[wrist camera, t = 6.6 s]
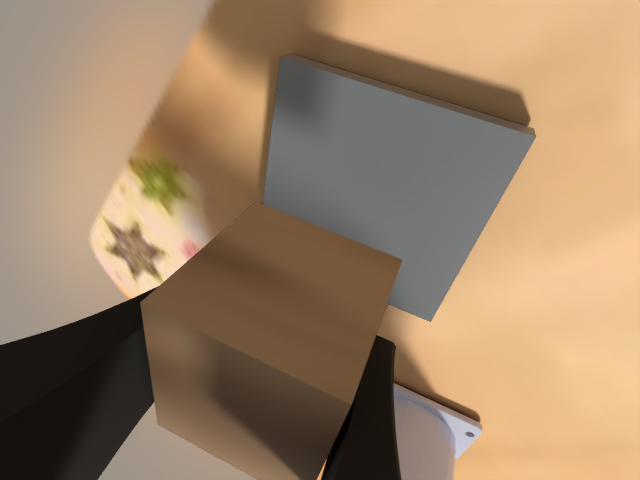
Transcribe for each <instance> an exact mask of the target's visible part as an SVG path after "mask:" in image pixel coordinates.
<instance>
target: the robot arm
mask: <svg viewBox="0 0 640 480" xmlns="http://www.w3.org/2000/svg"><path fill="white" fill-rule="evenodd" d="M158 287H159V286H158ZM158 287H156V288H158ZM156 288H154V289H152V290H149V291H147V292H145V293H143V294H141V295H139V296H137V297H135V298H132V299H130V300H128V301H125V302H123V303H121V304H119V305H116V306H114V307H112V308H109V309H106V310H104V311H102V312H100V313H97V314H94V315H92V316H89V317H87V318H84V319H81V320H79V321H76V322H73V323H70V324H67V325H65V326H62V327H59V328H56V329H53V330H50V331H47V332H44V333H40V334H37V335H34V336H30V337H27V338H23V339H20V340H17V341H13V342H10V343H6V344H3V345H0V480H98V478H99V476H100V475H101V474H102V472H103V471H104V470H105V468H106V467H107V465H108V464H109V462H110V461H111V460H112V458H113V457H114V455H115V454H116V452H117V451H118V449H119V448H120V447H121V445H122V444H123V442H124V441H125V440H126V438H127V437H128V436H129V434H130V433H131V431H132V430H133V429H134V427H135V426H136V425H137V423H138V422H139V420H140V419H141V418H142V416H143V415H144V414H145V413H146V411H147V410H148V409H149V407H150V406H151V405H152V404H153V403H154V395H153V388H152V381H151V374H150V367H149V360H148V353H147V346H146V339H145V332H144V325H143V318H142V311H141V305H140V302H142V301H143V300H144V299H145V298H146V297H147V296H148V295H150V294H151V293H152V292H153V291H154V290H155V289H156ZM395 349H396V346H395V345H394V343H393V342H391V341H389V340H386V339H384V338H382V337H380V336H377V335H376V337H375V340H374V343H373V346H372V348H371V351H370V354H369V357H368V360H367V363H366V365H365V368H364V371H363V374H362V377H361V380H360V383H359V385H358V388H357V391H356V394H355V397H354V400H353V402H352V405H351V407H350V409H349V412H348V414H347V416H346V418H345V420H344V422H343V424H342V427H341V429H340V431H339V433H338V435H337V437H336V439H335V441H334V444H333V446H332V448H331V450H330V452H329V454H328V457H327V460H326V464H325V467H324V471H323V474H322V478H321V480H453V478H454V467H455V461H456V460H457V459H458V458H459V457H460V456H461V455H462V454H463V453H464V451H465V450H466V449H467V448H468V447H469V446H470V445H471V444H472V443H473V442H474V441H475V440H476V439H477V438H478V437H479V436H480V435H481V434H482V425H481V424H480V423H479V422H477V421H475V420H473V419H471V418H469V417H466V416H464V415H462V414H460V413H458V412H456V411H453V410H451V409H449V408H447V407H445V406H443V405H440V404H438V403H436V402H434V401H432V400H430V399H427V398H425V397H423V396H421V395H419V394H417V393H414V392H412V391H410V390H408V389H406V388H404V387H401V386H399V385H397V384H395V383H394V358H395Z"/></svg>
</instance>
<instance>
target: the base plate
mask: <svg viewBox="0 0 640 480" xmlns="http://www.w3.org/2000/svg"><path fill="white" fill-rule="evenodd" d="M535 138H536V135H535V131H534V129H533V128H530V127H527V126H524V125H520V124H517V123H514V122H511V121H507V120H504V119H501V118H498V117H494V116H491V115H488V114H485V113H481V112H478V111H475V110H472V109H468V108H465V107H462V106H459V105H455V104H452V103H449V102H446V101H442V100H439V99H436V98H433V97H429V96H426V95H423V94H420V93H416V92H413V91H410V90H407V89H403V88H400V87H397V86H394V85H390V84H387V83H384V82H381V81H377V80H374V79H371V78H368V77H364V76H361V75H358V74H355V73H351V72H348V71H345V70H342V69H339V68H335V67H332V66H329V65H326V64H322V63H319V62H316V61H313V60H309V59H306V58H303V57H300V56H296V55H293V54H288V55H285V56H282V57H280V62H279V70H278V79H277V87H276V95H275V104H274V112H273V121H272V129H271V137H270V146H269V154H268V163H267V171H266V179H265V188H264V196H263V205H266V206H268V207H271V208H273V209H276V210H278V211H281V212H283V213H286V214H289V215H291V216H294V217H296V218H299V219H301V220H304V221H306V222H309V223H311V224H314V225H316V226H319V227H321V228H324V229H326V230H329V231H331V232H334V233H337V234H339V235H342V236H344V237H347V238H349V239H352V240H354V241H357V242H359V243H362V244H364V245H367V246H369V247H372V248H374V249H377V250H379V251H382V252H385V253H387V254H390V255H392V256H395V257H397V258H400V259H402V263H401V266H400V269H399V272H398V274H397V277H396V280H395V283H394V286H393V289H392V291H391V294H390V297H389V300H388V303H387V304H389V305H392V306H394V307H396V308H399V309H401V310H403V311H406V312H408V313H411V314H413V315H415V316H418V317H420V318H422V319H425V320H427V321H429V322H431V320H432V318H433V317H434V315H435V313H436V311H437V310H438V308H439V306H440V304H441V303H442V301H443V299H444V297H445V296H446V294H447V292H448V290H449V289H450V287H451V285H452V283H453V282H454V280H455V278H456V276H457V275H458V273H459V271H460V269H461V268H462V266H463V264H464V262H465V261H466V259H467V257H468V255H469V254H470V252H471V250H472V248H473V246H474V245H475V243H476V241H477V239H478V238H479V236H480V234H481V232H482V231H483V229H484V227H485V225H486V224H487V222H488V220H489V218H490V217H491V215H492V213H493V211H494V210H495V208H496V206H497V204H498V203H499V201H500V199H501V197H502V196H503V194H504V192H505V190H506V189H507V187H508V185H509V183H510V182H511V180H512V178H513V176H514V175H515V173H516V171H517V169H518V168H519V166H520V164H521V162H522V161H523V159H524V157H525V155H526V154H527V152H528V150H529V148H530V147H531V145H532V143H533V141H534V139H535Z"/></svg>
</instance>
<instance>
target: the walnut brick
mask: <svg viewBox="0 0 640 480" xmlns="http://www.w3.org/2000/svg"><path fill="white" fill-rule="evenodd" d="M401 263H402V259H400V258H397V257H395V256H392V255H390V254H387V253H385V252H382V251H379V250H377V249H374V248H372V247H369V246H367V245H364V244H362V243H359V242H357V241H354V240H352V239H349V238H347V237H344V236H342V235H339V234H337V233H334V232H331V231H329V230H326V229H324V228H321V227H319V226H316V225H314V224H311V223H309V222H306V221H304V220H301V219H299V218H296V217H294V216H291V215H289V214H286V213H283V212H281V211H278V210H276V209H273V208H271V207H268V206H266V205H263V204H261V203H258V202H255V203H254V204H253V205H252V206H251V207H249V208H248V209H247V210H246V211H245V212H244V213H243V214H241V215H240V216H239V217H238V218H237V219H236V220H234V221H233V222H232V223H231V224H230V225H229V226H228V227H226V228H225V229H224V230H223V231H222V232H221V233H220V234H218V235H217V236H216V237H215V238H214V239H213V240H212V241H210V242H209V243H208V244H207V245H206V246H205V247H204V248H202V249H201V250H200V251H199V252H198V253H197V254H195V255H194V256H193V257H192V258H191V259H190V260H189V261H187V262H186V263H185V264H184V265H183V266H182V267H181V268H179V269H178V270H177V271H176V272H175V273H174V274H173V275H171V276H170V277H169V278H168V279H167V280H166V281H164V282H163V283H162V284H161V285H160V286H159V287H158V288H156V289H155V290H154V291H153V292H152V293H151V294H150V295H148V296H147V297H146V298H145V299H144V300H143V301H142V302H140V305H141V311H142V318H143V325H144V332H145V339H146V346H147V353H148V360H149V367H150V374H151V381H152V388H153V395H154V402H155V409H156V416H157V423H158V425H159V426H161V427H163V428H165V429H167V430H168V431H170V432H172V433H174V434H176V435H177V436H179V437H181V438H183V439H185V440H187V441H188V442H190V443H192V444H194V445H196V446H197V447H199V448H201V449H203V450H205V451H206V452H208V453H210V454H212V455H214V456H216V457H217V458H219V459H221V460H223V461H225V462H226V463H228V464H230V465H232V466H234V467H236V468H237V469H239V470H241V471H243V472H245V473H246V474H248V475H250V476H252V477H254V478H255V479H257V480H317V478H318V476H319V473H320V471H321V469H322V467H323V465H324V463H325V461H326V459H327V456H328V454H329V452H330V450H331V448H332V446H333V444H334V441H335V439H336V437H337V435H338V433H339V431H340V429H341V427H342V424H343V422H344V420H345V418H346V416H347V414H348V412H349V409H350V407H351V405H352V402H353V400H354V397H355V394H356V391H357V388H358V385H359V383H360V380H361V377H362V374H363V371H364V368H365V365H366V363H367V360H368V357H369V354H370V351H371V348H372V346H373V343H374V340H375V337H376V334H377V331H378V328H379V326H380V323H381V320H382V317H383V314H384V311H385V309H386V306H387V303H388V300H389V297H390V294H391V291H392V289H393V286H394V283H395V280H396V277H397V274H398V272H399V269H400V266H401Z"/></svg>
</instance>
